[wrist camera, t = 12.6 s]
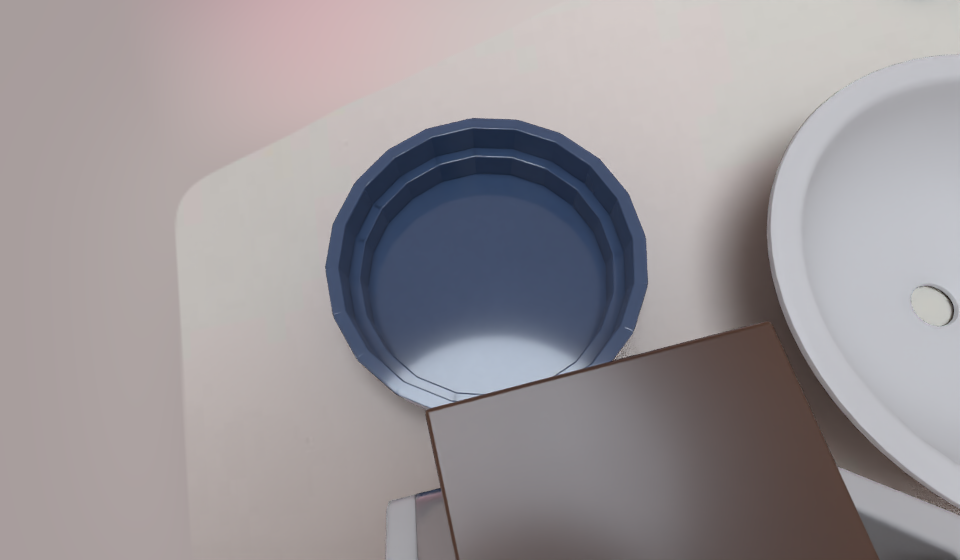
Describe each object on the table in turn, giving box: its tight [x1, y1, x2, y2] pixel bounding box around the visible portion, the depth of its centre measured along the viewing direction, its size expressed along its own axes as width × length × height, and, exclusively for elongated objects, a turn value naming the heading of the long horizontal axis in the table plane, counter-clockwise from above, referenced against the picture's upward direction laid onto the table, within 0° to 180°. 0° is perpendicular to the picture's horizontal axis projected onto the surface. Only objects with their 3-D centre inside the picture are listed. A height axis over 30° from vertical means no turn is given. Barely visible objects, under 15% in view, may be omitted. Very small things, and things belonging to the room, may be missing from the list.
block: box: [425, 321, 880, 560], centre depth 10 cm, size 4×4×10 cm
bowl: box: [325, 118, 648, 410], centre depth 28 cm, size 16×16×4 cm
